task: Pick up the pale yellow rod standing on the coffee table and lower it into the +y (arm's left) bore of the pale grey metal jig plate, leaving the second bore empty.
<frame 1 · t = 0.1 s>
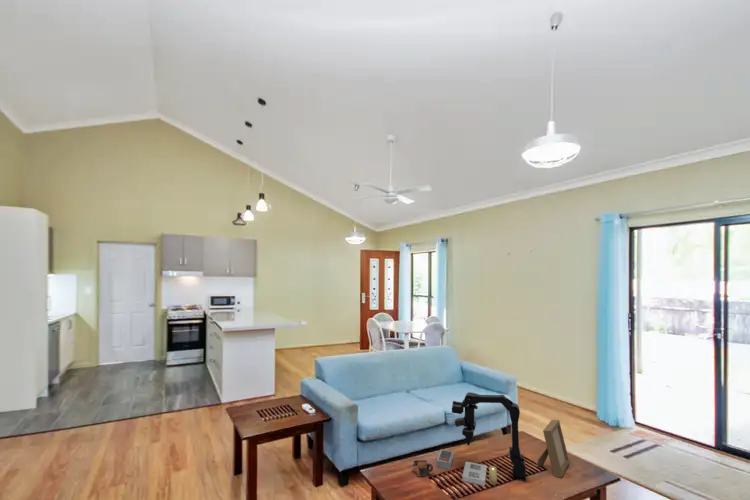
hand: (469, 441, 226), 15 cm above the table, fingers open, 9 cm apart
pale yellow rod: (492, 482, 210), on the table
jig: (474, 475, 217), on the table
gray hollow rectangular block: (445, 462, 230), on the table
pottery mug: (422, 473, 217), on the table
photo frame: (552, 467, 229), on the table
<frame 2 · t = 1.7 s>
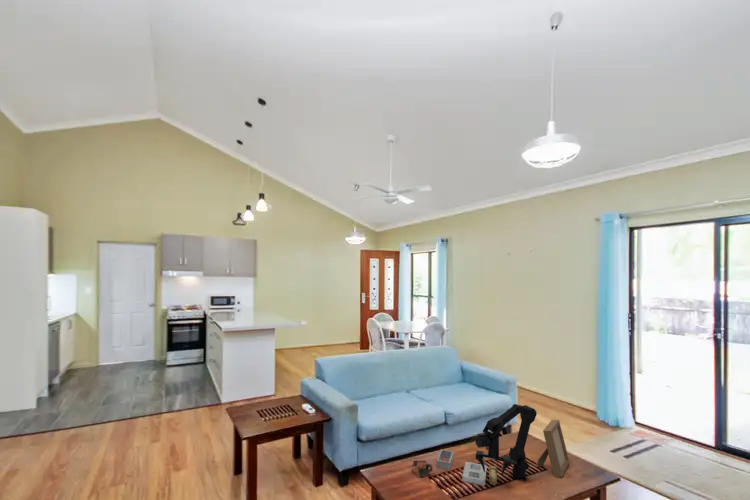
hand: (493, 473, 210), 5 cm above the table, fingers open, 9 cm apart
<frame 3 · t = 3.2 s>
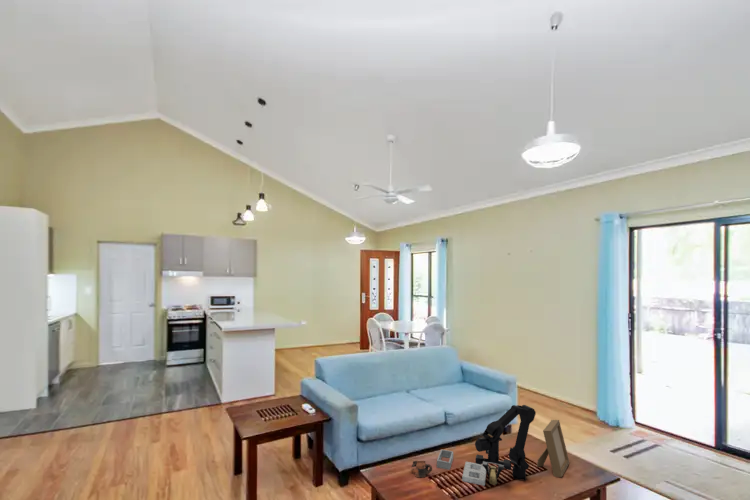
hand: (493, 477, 210), 3 cm above the table, fingers closed on pale yellow rod, 4 cm apart
pale yellow rod: (492, 482, 210), on the table, touching gripper
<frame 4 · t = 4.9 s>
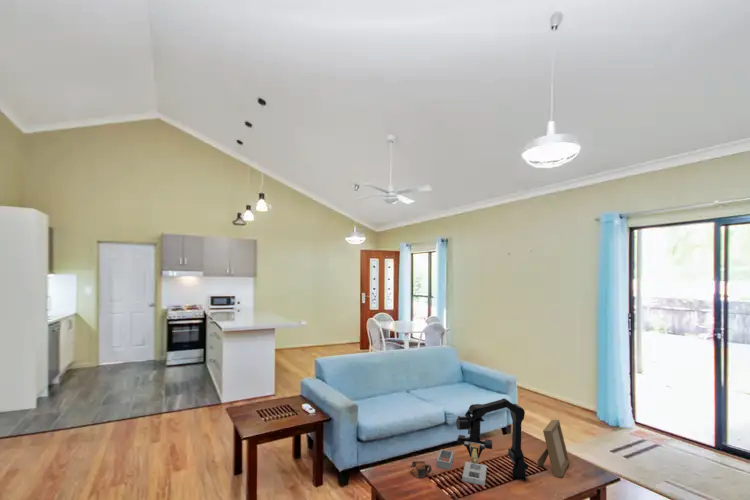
hand: (474, 457, 213), 12 cm above the table, fingers closed on pale yellow rod, 4 cm apart
pale yellow rod: (474, 462, 213), point 9 cm above the table, touching gripper
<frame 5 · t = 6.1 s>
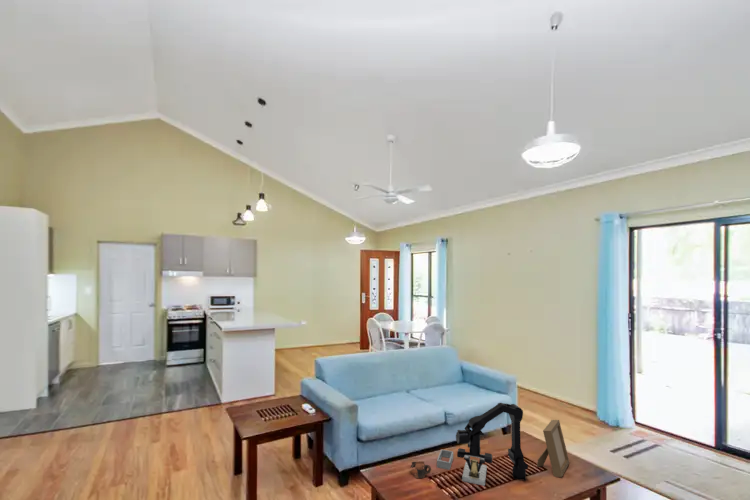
hand: (474, 471, 213), 4 cm above the table, fingers closed on pale yellow rod, 4 cm apart
pale yellow rod: (474, 475, 213), point 2 cm above the table, touching gripper
when the fingers open (4 cm above the table, at t = 6.9 s): pale yellow rod drops 1 cm, resting in jig.
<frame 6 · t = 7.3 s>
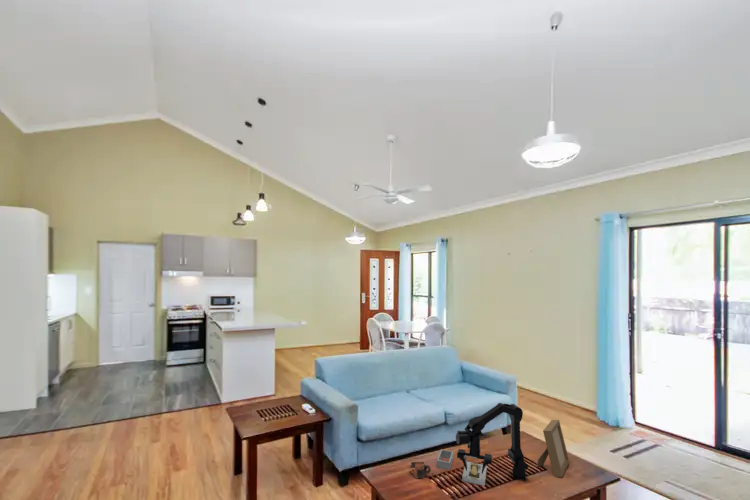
hand: (474, 471, 213), 4 cm above the table, fingers open, 8 cm apart
pale yellow rod: (474, 479, 212), resting in jig
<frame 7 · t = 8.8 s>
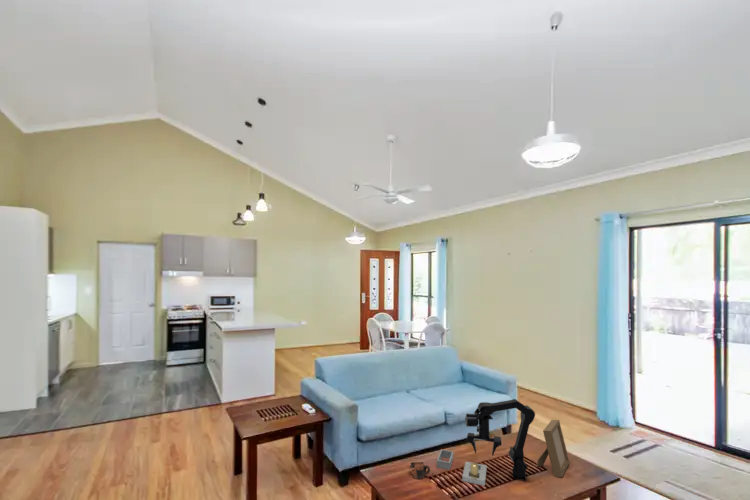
hand: (484, 454, 217), 12 cm above the table, fingers open, 9 cm apart
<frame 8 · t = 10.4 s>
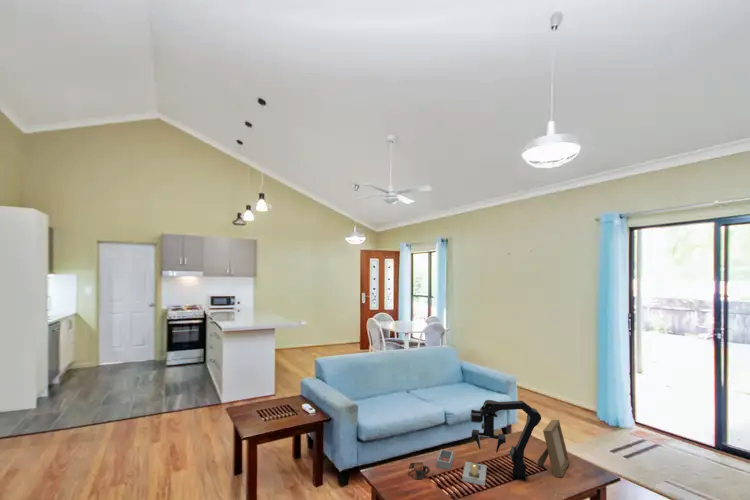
hand: (488, 451, 220), 13 cm above the table, fingers open, 9 cm apart
at the end: pale yellow rod 0.1 cm from the target spot on the jig, point 0.0 cm above the jig's base; pale yellow rod tilted 0°; the gripper is holding nothing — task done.
